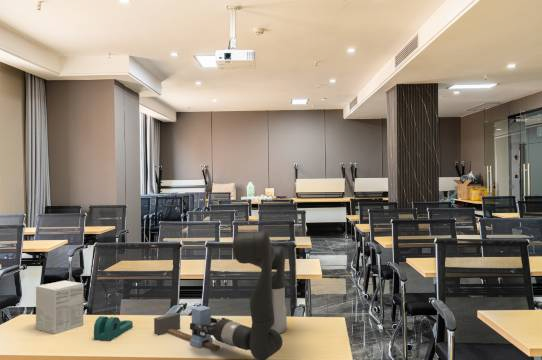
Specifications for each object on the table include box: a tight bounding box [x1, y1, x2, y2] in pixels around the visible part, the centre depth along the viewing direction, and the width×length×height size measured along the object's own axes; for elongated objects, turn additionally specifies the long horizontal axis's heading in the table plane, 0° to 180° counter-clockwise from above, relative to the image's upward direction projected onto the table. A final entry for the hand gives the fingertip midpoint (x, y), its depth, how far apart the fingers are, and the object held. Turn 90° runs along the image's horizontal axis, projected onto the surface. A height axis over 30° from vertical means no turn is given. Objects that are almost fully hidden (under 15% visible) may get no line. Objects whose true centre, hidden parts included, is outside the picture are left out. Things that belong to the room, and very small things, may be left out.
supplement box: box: [35, 279, 85, 335], centre depth 171 cm, size 13×13×18 cm
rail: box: [166, 328, 221, 352], centre depth 153 cm, size 2×29×1 cm, turn 48°
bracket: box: [93, 315, 134, 342], centre depth 163 cm, size 18×7×8 cm, turn 168°
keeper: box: [189, 305, 214, 349], centre depth 150 cm, size 6×5×13 cm
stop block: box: [153, 312, 181, 336], centre depth 164 cm, size 10×3×6 cm, turn 138°
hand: (200, 323), depth 150 cm, fingers open, 8 cm apart
